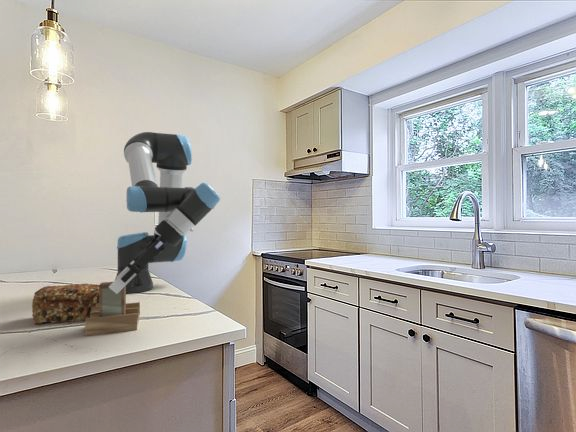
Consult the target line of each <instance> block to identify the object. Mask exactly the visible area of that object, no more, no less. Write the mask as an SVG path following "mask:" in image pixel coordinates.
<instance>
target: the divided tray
mask: <svg viewBox="0 0 576 432" xmlns="http://www.w3.org/2000/svg"><path fill="white" fill-rule="evenodd" d="M140 305H141V303H140V301H138V302H129V303H128V302H126V314H123V315H113V316H103V317H99V306H95V307H94V312H90V318H86V319H85V320H84V326H85V327H84V336H85V337H87V336H88V337H89V336H94V335H95V336H96V335H103V334H104V335H105V334H111V333H112V334H114V333H122V332H130V331H138V326H139V321H140V316H141V311H140V310H141V309H140V308H141V306H140Z"/></svg>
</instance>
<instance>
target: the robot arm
mask: <svg viewBox="0 0 576 432" xmlns="http://www.w3.org/2000/svg"><path fill="white" fill-rule="evenodd" d="M123 156H124V159H125V161H126V163H128V169H129V174H130V175H129V176H130V181H131V186H128V187H127V188H126V209H127V210H128V211H129V212H132V213H158V224H157V225H156V226H155V228H154V230H153V235H151V234H150V235H149V232H147V231H146V232H145V231H143V232H135V233H130V234H129V233H128V234H124V235H121V236H119V237H118V238H117V245H116V249H117V273H116V276H115V279H114V281H112V282H113V283H112V284H111V285H110V286H109V288H110V289H111V290H112V291H114V292H115V293H116V294H118V293H119V292H120V291H121V290H122V289H123V288H124V287H125V286H126V294H136V293H142V292H146V291H150V290H153V289H154V281H153V279H152V276H151V272H150V269H149V264H152V263H153V264H155V263H169V262H170V263H174V262H179V261H182V260H183V258H184V257H185V255H186V252H187V241H188V240H187V235H188V234H189V232H191V233H192V232H194V230H195V229H194V228H195V226H197V225H198V224H199V223H200V222H201V221H202V220H203V219H204V218H205V217H206V216H207V215H208V214H209V213H210V212H211V211H212V210H214V209H215V207H216V206H217V205H218V203H219V202H220V201H221V196H220V195H219V194H218V192H217V191H216V190H215V189H214V188H213V187H212V186H210V185H209V184H208V183H206V182H201V183H200V184H199V185H198V186H196V187H195V188H194V187H193V186H192V187H191V186H186V187H183V173H184V172H186V171H187V170H188V167H187V166H190V165H192V160H193V153H192V145H191V142H190V139H189V138H188V137H187V136H186V135H181V134H176V133H175V134H174V133H173V134H172V133H162V132H152V131H143V132H140V133H137V134H134V135H133V136H132V137H130V139H128V141H127V142H126V143H125V145H124V148H123ZM153 164H156V165H155V166H156V168H157V169H158V171H159V173H160V174H159V183H158V180H157V177H156V173H155V169H154V165H153Z"/></svg>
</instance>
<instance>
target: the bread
mask: <svg viewBox="0 0 576 432" xmlns="http://www.w3.org/2000/svg"><path fill="white" fill-rule="evenodd" d="M99 285H100V284H98V283H97V284H95V283H75V284H73V283H71V284H64V285H47V286H43V287H41V288H40V289H38V290H36V291H35V292H34V295H33V299H32V304H31V309H32V310H31V311H32V315H31V317H32V318H33V319H32V320H33V324H36V325H37V324H39V325H41V324H43V323H49V324H50V323H51V324H53V323H69V322H81V321H85V319H86V318H90V312H94V307H95V306H99Z"/></svg>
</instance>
